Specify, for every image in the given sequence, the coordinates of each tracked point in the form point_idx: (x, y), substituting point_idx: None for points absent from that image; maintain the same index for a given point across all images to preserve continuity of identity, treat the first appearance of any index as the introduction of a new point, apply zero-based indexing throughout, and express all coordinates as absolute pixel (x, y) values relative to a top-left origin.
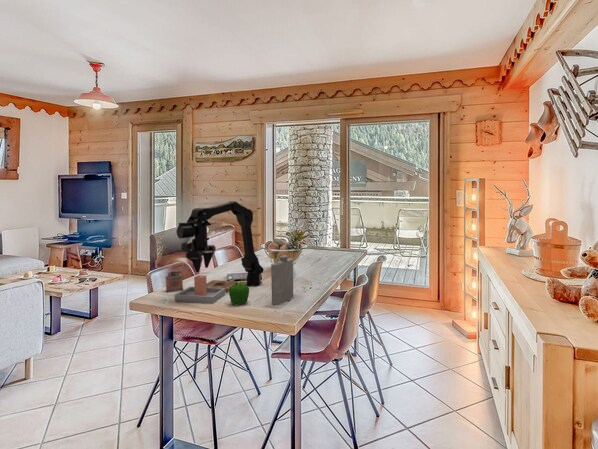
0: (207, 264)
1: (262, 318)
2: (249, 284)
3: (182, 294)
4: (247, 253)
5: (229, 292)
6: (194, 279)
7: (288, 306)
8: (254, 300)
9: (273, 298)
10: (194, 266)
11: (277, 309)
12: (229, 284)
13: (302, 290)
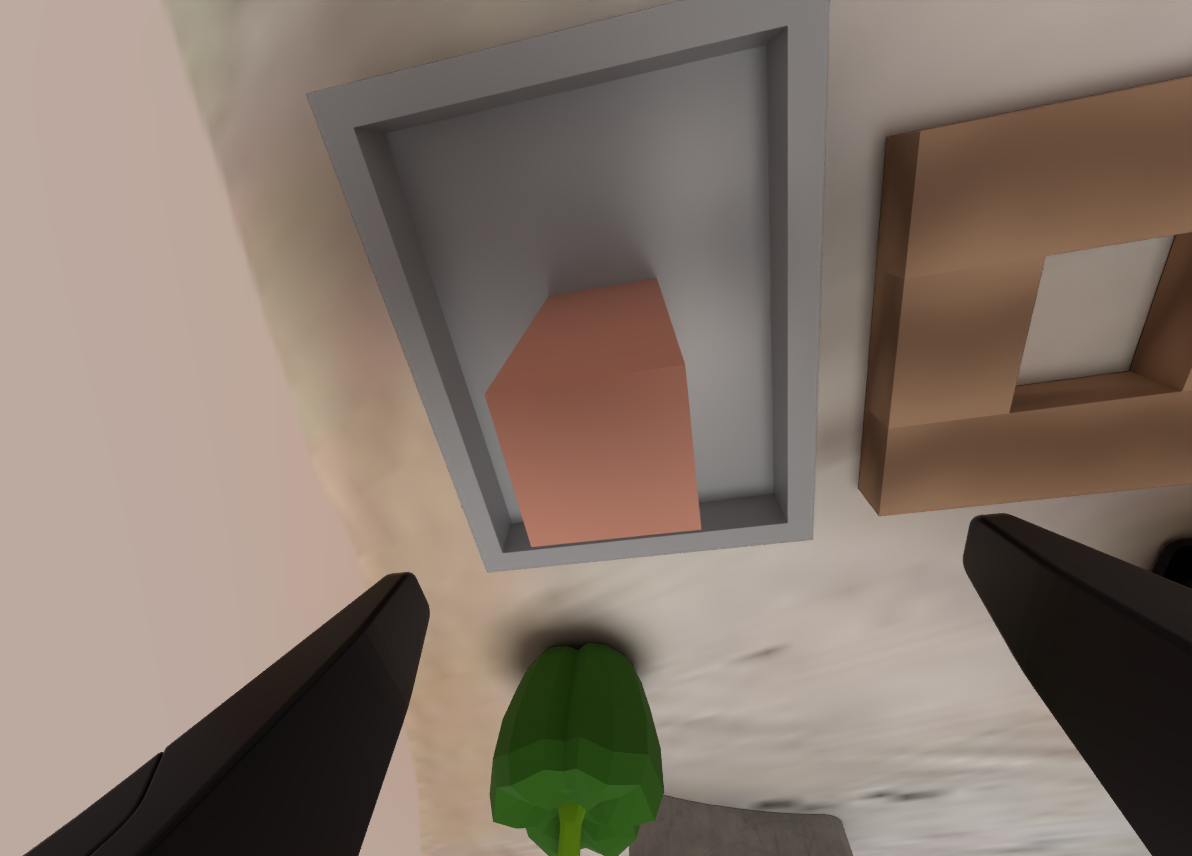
0: (1035, 661)
1: (422, 806)
2: (1164, 572)
3: (498, 101)
4: None
5: (510, 731)
6: (496, 382)
7: None
8: (681, 716)
9: (629, 849)
10: (210, 725)
11: None
12: (1080, 456)
13: (957, 849)
